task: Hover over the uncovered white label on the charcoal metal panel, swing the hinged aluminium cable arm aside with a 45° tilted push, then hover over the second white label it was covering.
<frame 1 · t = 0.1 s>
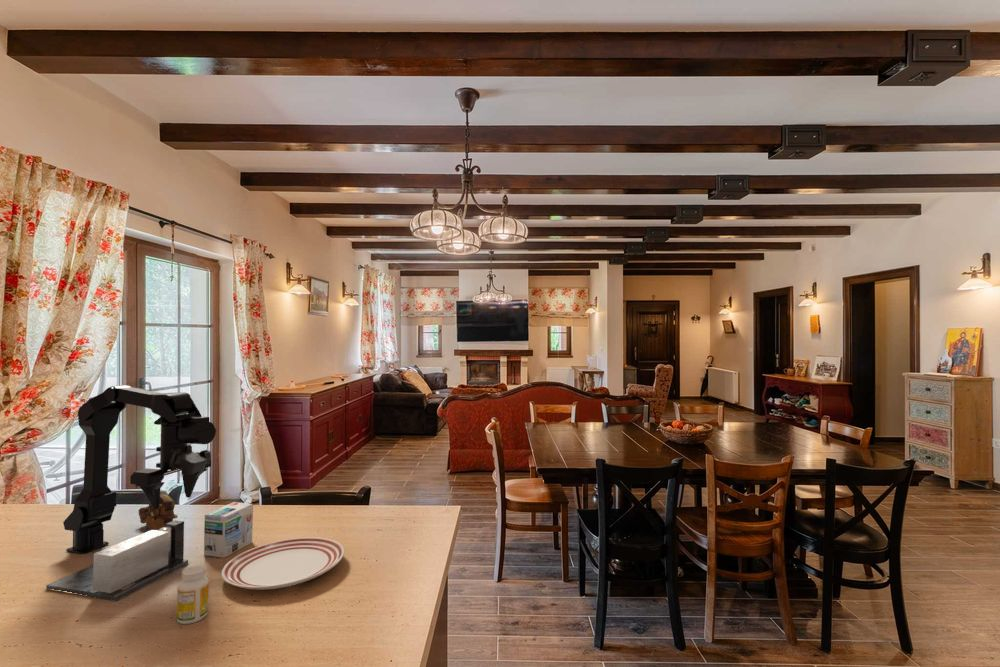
hand: (172, 502, 124), 14 cm above the kitchen island countertop, tool pointing down, fingers open, 9 cm apart
light bulb box: (228, 549, 130), on the kitchen island countertop
dinner plate: (285, 572, 118), on the kitchen island countertop
server panel: (121, 575, 115), on the kitchen island countertop
wooden carving: (156, 530, 143), on the kitchen island countertop
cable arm: (138, 557, 113), point 6 cm above the kitchen island countertop, hinge at 0.0°
supplement bottle: (192, 618, 98), on the kitchen island countertop
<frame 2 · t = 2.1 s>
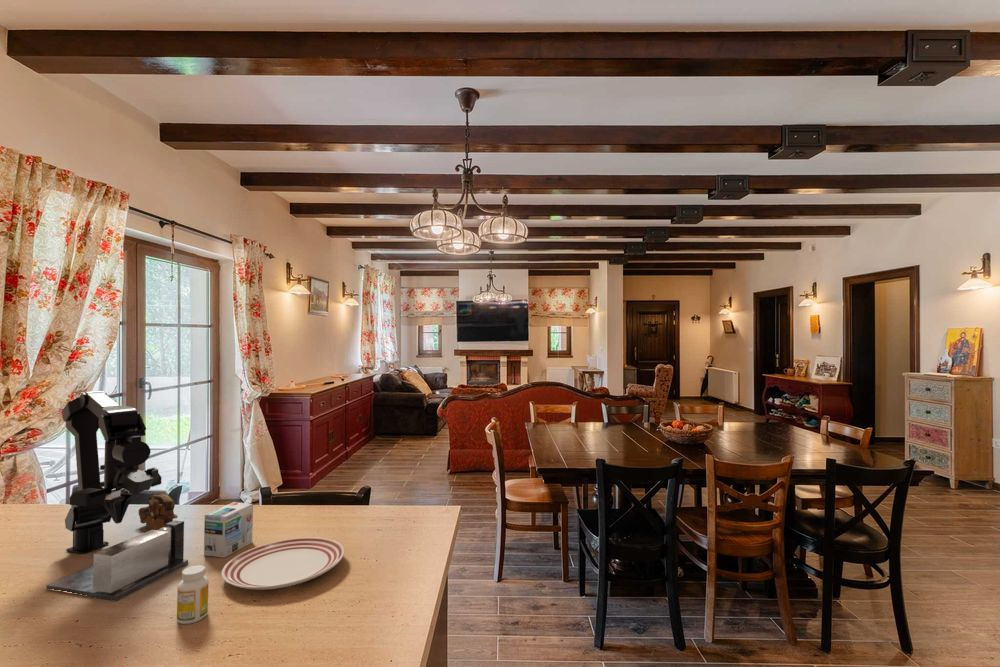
hand: (118, 523, 119), 11 cm above the kitchen island countertop, tool pointing down, fingers closed
nothing on the kitchen island countertop moved.
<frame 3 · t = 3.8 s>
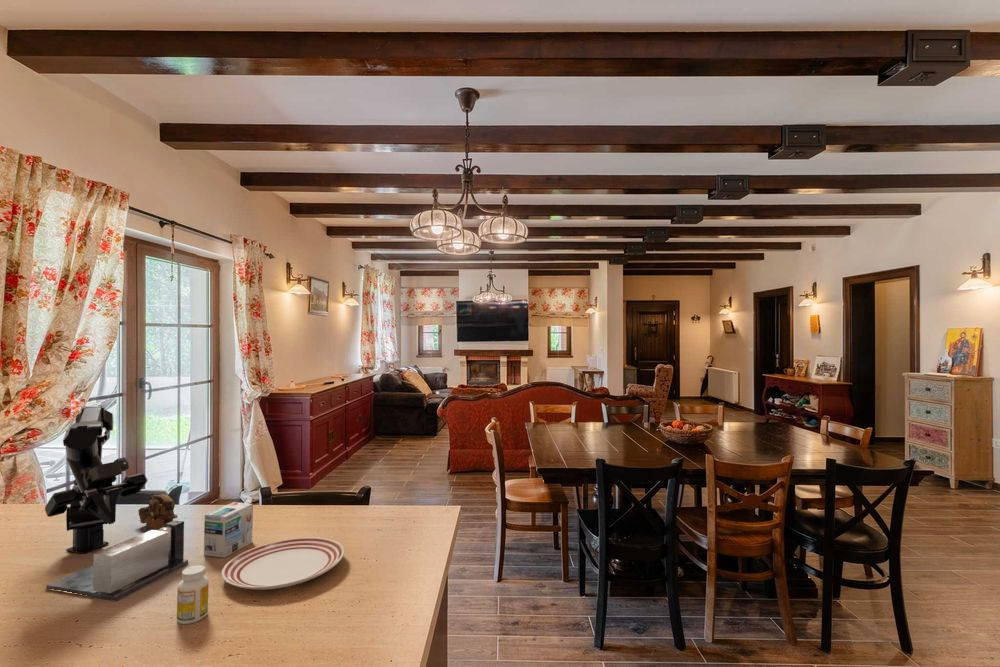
hand: (112, 522, 113), 13 cm above the kitchen island countertop, tool tilted 45°, fingers closed
nothing on the kitchen island countertop moved.
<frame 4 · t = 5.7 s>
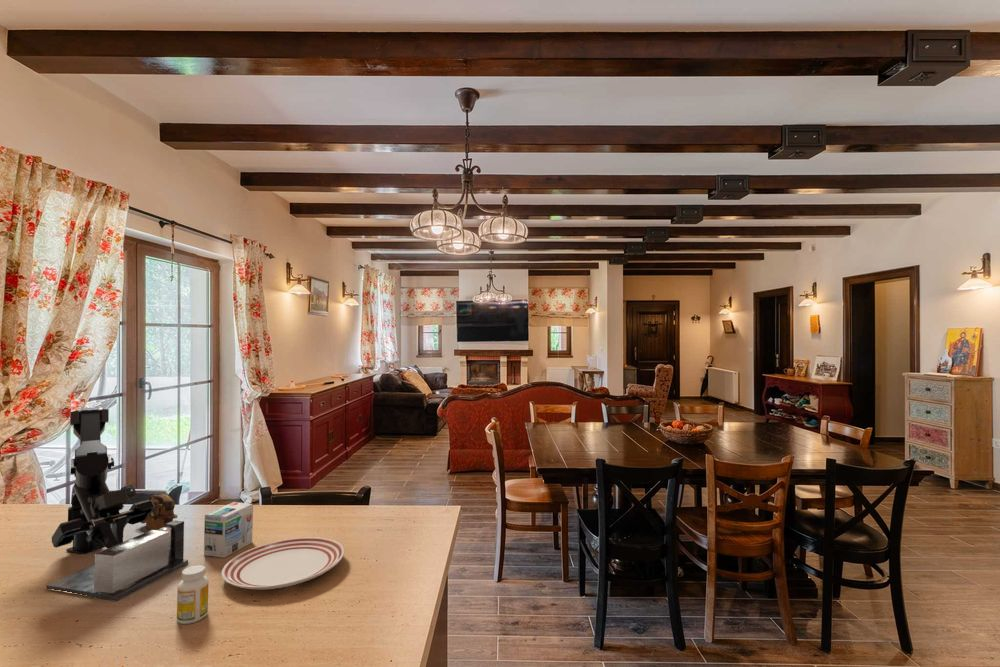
hand: (119, 552, 111), 7 cm above the kitchen island countertop, tool tilted 45°, fingers closed
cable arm: (138, 557, 113), point 6 cm above the kitchen island countertop, hinge at 1.6°, touching gripper
everything else where it was.
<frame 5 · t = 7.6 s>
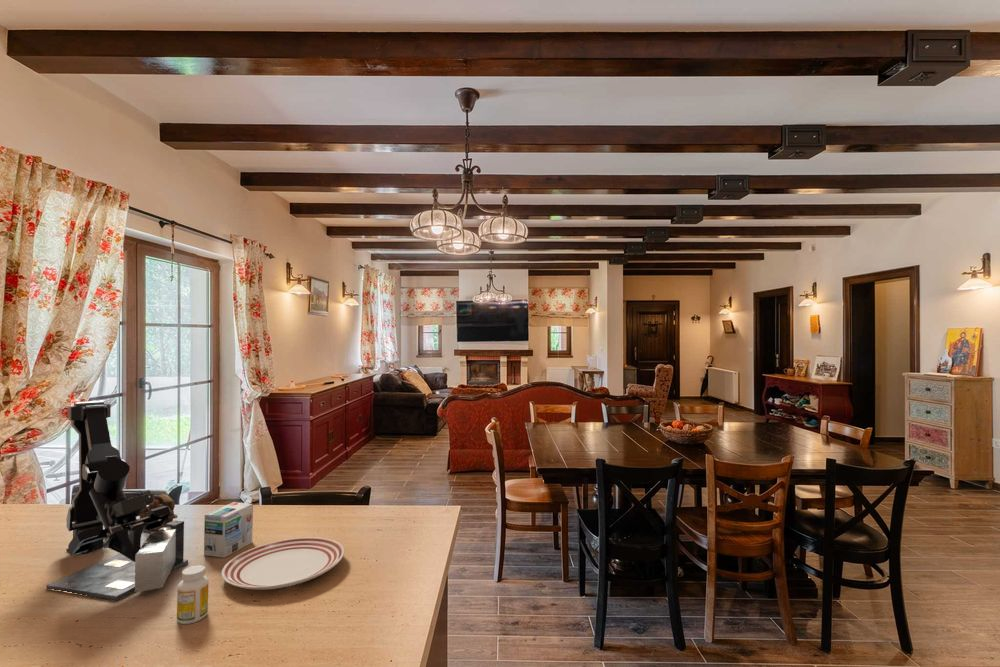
hand: (137, 560, 108), 7 cm above the kitchen island countertop, tool tilted 45°, fingers closed
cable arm: (158, 556, 113), point 6 cm above the kitchen island countertop, hinge at 37.2°, touching gripper
everything else where it was.
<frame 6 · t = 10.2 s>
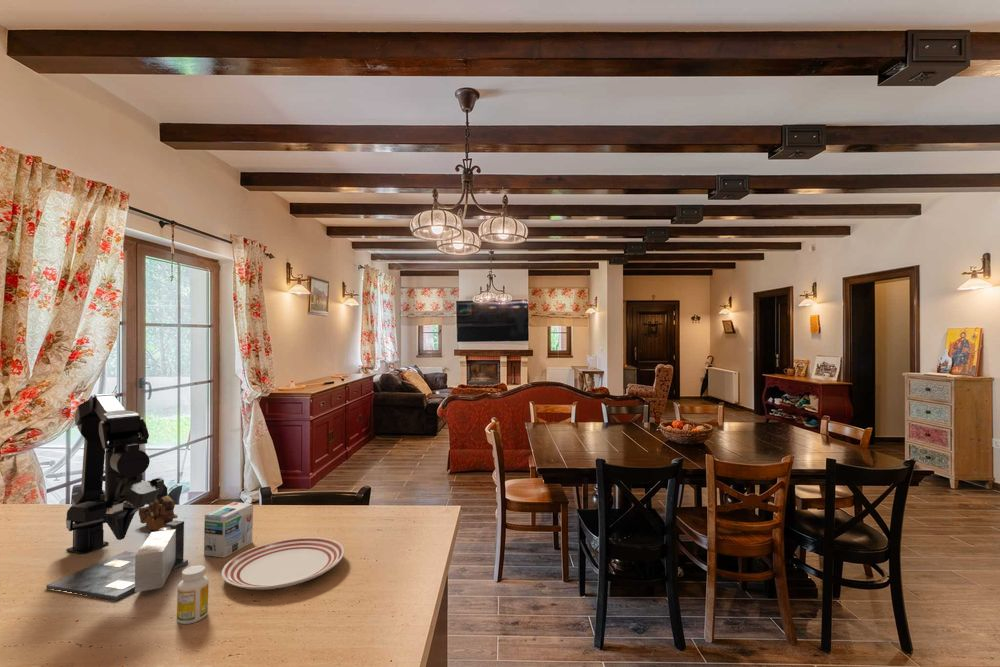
hand: (120, 539, 109), 11 cm above the kitchen island countertop, tool pointing down, fingers closed
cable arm: (158, 556, 113), point 5 cm above the kitchen island countertop, hinge at 37.2°
everything else where it was.
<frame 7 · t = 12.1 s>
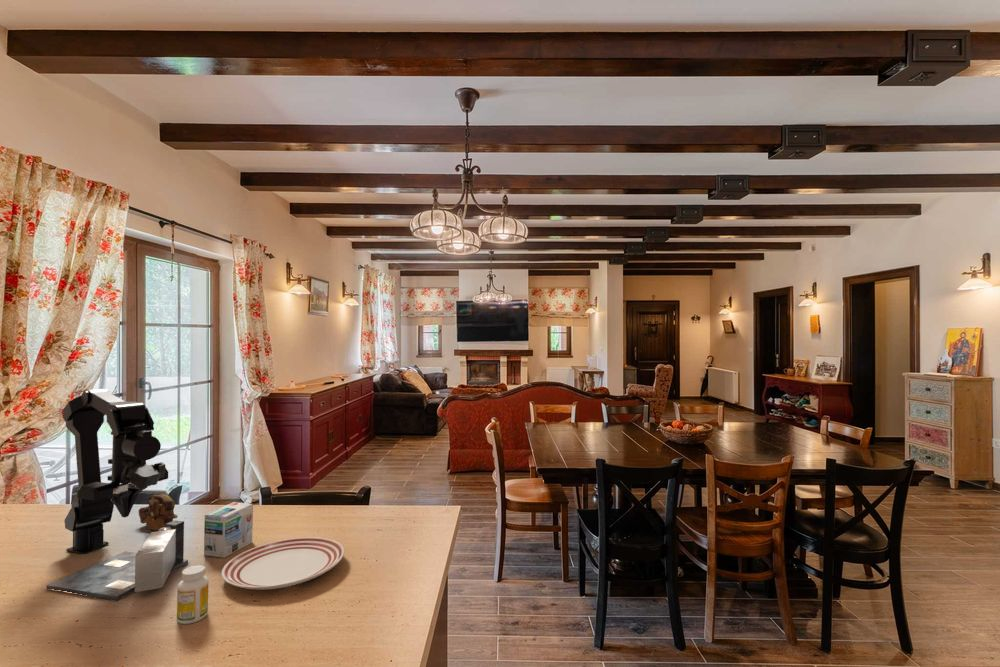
hand: (125, 516, 120), 12 cm above the kitchen island countertop, tool pointing down, fingers closed
nothing on the kitchen island countertop moved.
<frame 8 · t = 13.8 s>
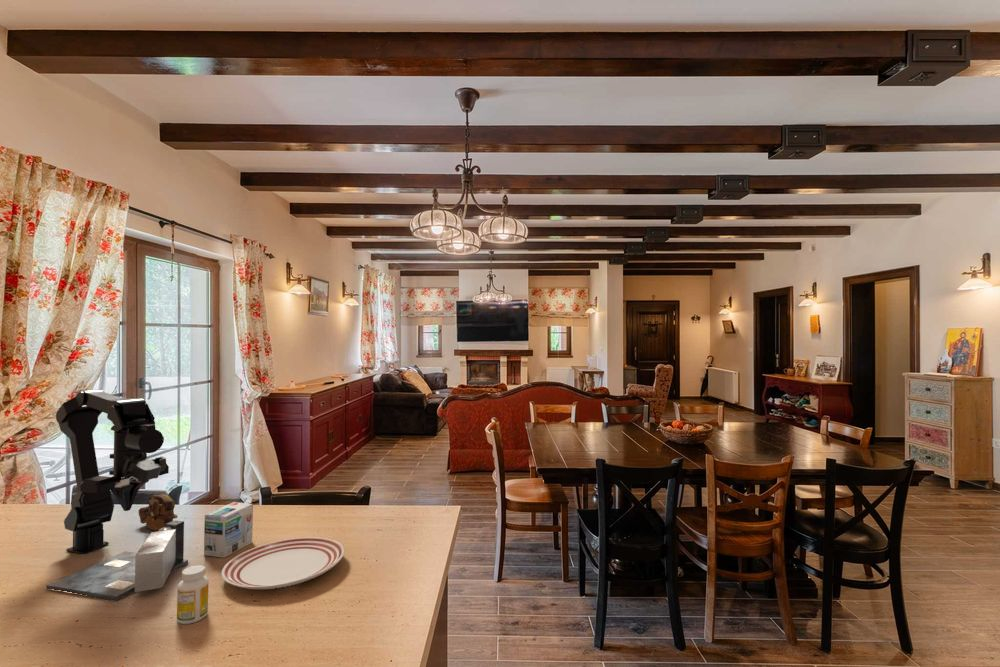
hand: (127, 510, 122), 13 cm above the kitchen island countertop, tool pointing down, fingers closed
nothing on the kitchen island countertop moved.
at the end: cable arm at +37° (first picture: +0°); light bulb box moved 0.3 cm from its start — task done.
